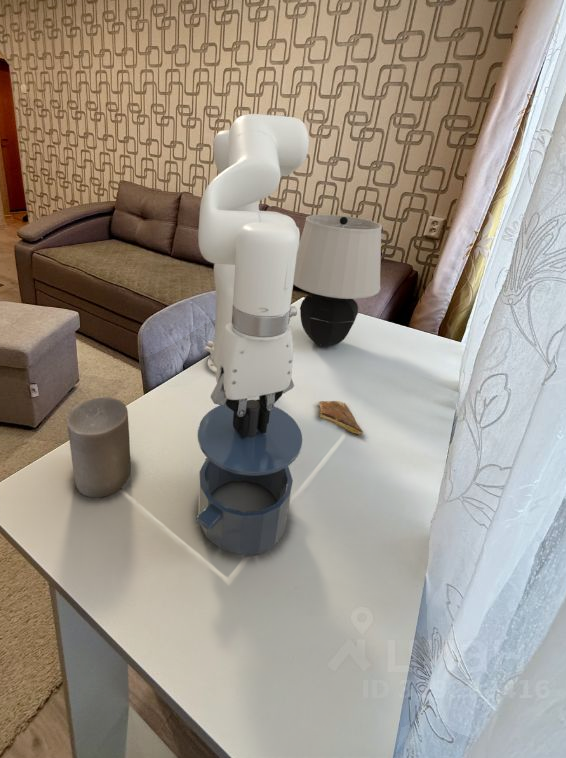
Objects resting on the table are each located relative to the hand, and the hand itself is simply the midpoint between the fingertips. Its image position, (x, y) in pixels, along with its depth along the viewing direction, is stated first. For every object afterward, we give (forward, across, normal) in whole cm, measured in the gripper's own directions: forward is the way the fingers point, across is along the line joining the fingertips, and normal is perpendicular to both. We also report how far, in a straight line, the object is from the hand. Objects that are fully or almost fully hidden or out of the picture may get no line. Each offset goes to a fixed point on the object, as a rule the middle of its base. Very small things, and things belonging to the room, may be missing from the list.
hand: (250, 429), depth 59 cm
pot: (+18, 0, 0) cm, 18 cm away
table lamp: (+18, -48, -49) cm, 71 cm away
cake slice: (+18, -32, -16) cm, 40 cm away
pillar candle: (+18, +21, -16) cm, 32 cm away
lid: (+1, 0, 0) cm, 1 cm away
